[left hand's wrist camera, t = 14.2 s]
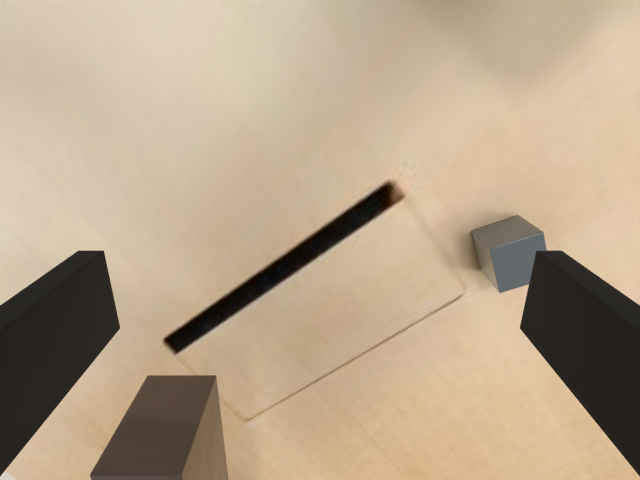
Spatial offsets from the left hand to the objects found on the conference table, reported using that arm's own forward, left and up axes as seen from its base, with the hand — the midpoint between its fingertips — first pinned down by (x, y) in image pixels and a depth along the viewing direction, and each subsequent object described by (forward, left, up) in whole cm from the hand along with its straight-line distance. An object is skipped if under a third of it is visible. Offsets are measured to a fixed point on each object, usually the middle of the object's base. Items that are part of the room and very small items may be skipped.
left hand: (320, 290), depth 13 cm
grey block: (+10, +19, -29) cm, 36 cm away
